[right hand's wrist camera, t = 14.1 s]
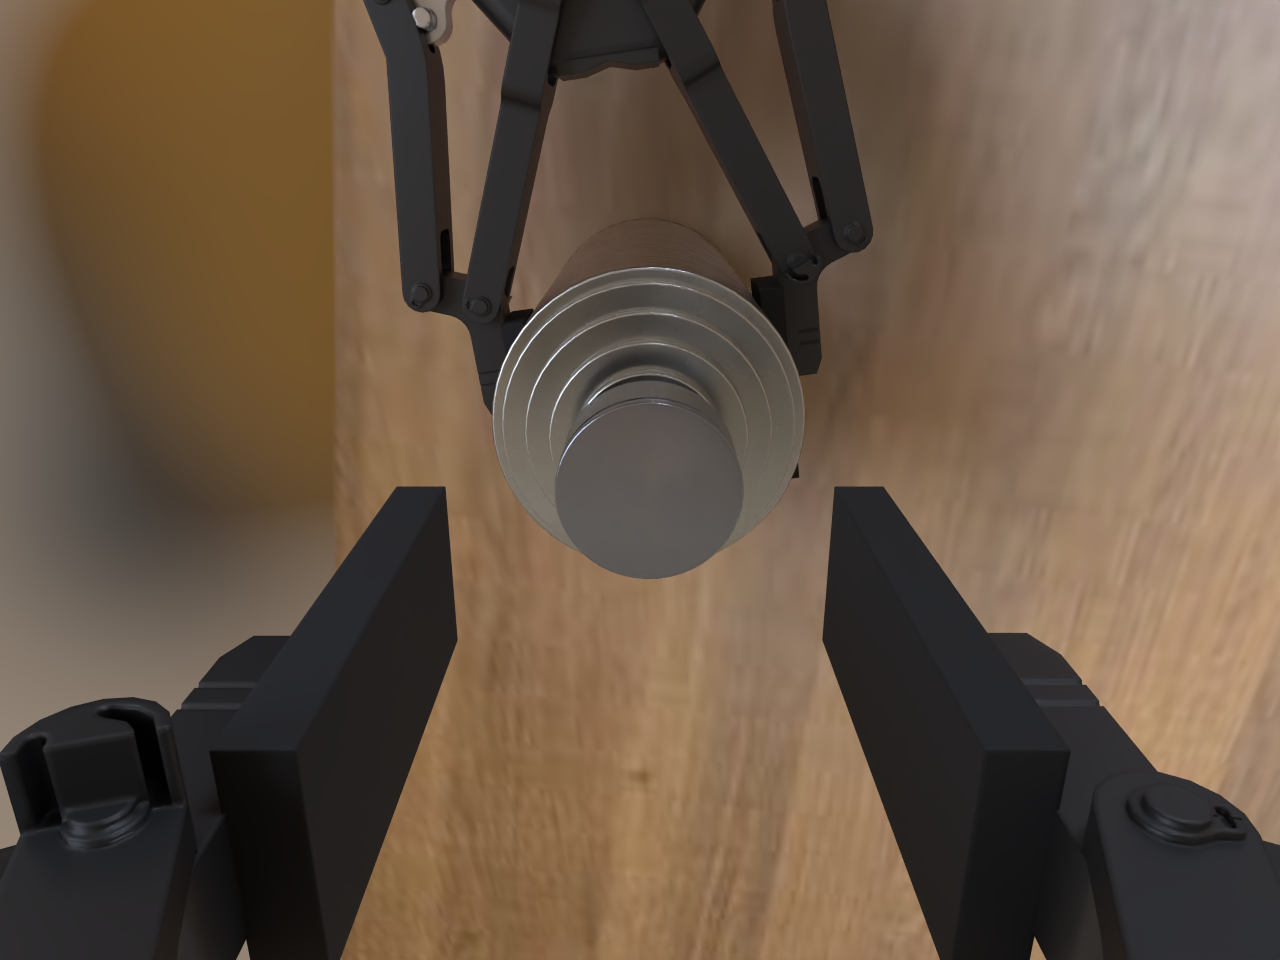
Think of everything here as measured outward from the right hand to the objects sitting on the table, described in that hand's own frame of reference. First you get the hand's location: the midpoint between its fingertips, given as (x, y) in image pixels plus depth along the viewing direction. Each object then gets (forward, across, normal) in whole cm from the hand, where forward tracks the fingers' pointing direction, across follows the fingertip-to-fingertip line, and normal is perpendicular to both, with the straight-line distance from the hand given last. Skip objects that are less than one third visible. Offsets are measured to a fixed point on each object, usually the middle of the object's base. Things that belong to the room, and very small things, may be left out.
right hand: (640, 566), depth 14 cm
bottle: (+23, 0, 0) cm, 24 cm away
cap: (+4, 0, 0) cm, 4 cm away
